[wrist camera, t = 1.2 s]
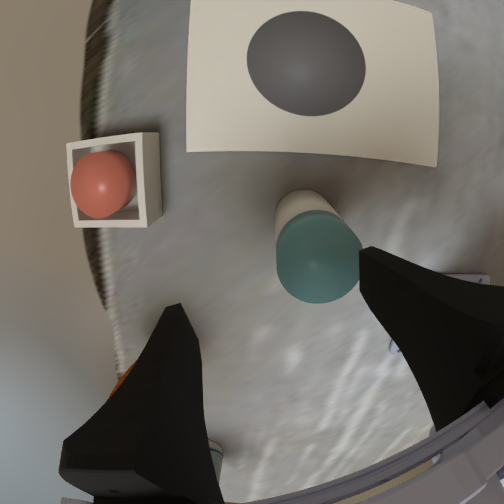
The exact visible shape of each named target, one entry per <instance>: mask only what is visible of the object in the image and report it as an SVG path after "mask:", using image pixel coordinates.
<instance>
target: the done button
mask: <svg viewBox="0 0 504 504" xmlns="http://www.w3.org/2000/svg"><path fill="white" fill-rule="evenodd" d="M70 186H71V193H72V197H73V199H74V201H75V203H76V205H77V207H78V208H79V209H80V210H81V211H82V212H83V213H84V214H86V215H88V216H90V217H93V218H104V217H107V216H109V215H111V214H113V213H115V212H117V211H118V210H120V209H122V208H124V207H125V206H127V205H128V204H129V203H130V202H131V200H132V199H133V197H134V195H135V193H136V190H137V178H136V169H135V167H134V165H133V163H132V161H131V160H130V159H129V158H128V157H127V156H126V155H125V154H123V153H122V152H119V151H116V150H107V151H100V152H93V153H89V154H87V155H85V156H83V157H82V158H81V159H80V160H79V161H78V162H77V164H76V165H75V167H74V169H73V171H72V175H71V182H70Z"/></svg>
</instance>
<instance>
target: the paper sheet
mask: <svg viewBox="0 0 504 504" xmlns="http://www.w3.org/2000/svg"><path fill="white" fill-rule="evenodd" d="M186 139H187V152H202V151H271V152H297V153H315V154H329V155H341V156H352V157H362V158H371V159H380V160H388V161H396V162H403V163H410V164H416V165H422V166H429V167H434V168H437V156H438V139H439V79H438V63H437V51H436V41H435V33H434V25H433V19H432V12H429V11H426V10H423V9H420V8H417V7H414V6H411V5H407V4H404V3H400V2H397V1H393V0H191V8H190V22H189V39H188V62H187V106H186Z"/></svg>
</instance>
